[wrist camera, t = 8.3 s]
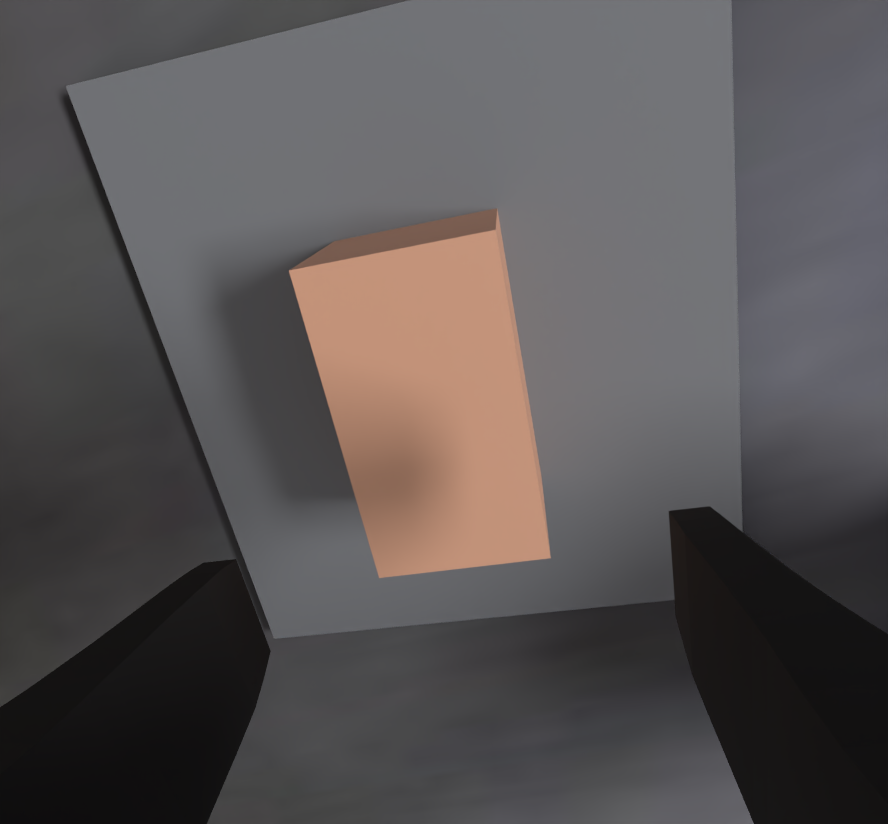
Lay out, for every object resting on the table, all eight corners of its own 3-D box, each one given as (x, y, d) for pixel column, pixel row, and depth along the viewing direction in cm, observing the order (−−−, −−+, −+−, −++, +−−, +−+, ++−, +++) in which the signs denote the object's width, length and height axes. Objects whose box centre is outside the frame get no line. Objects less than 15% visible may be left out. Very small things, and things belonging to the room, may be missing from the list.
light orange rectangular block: (541, 478, 19) (550, 558, 16) (401, 497, 20) (379, 578, 17) (497, 208, 16) (496, 229, 13) (334, 241, 17) (288, 270, 14)
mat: (720, -72, 14) (729, -80, 14) (737, 581, 21) (743, 593, 21) (79, 87, 17) (65, 86, 16) (279, 626, 24) (274, 638, 23)
